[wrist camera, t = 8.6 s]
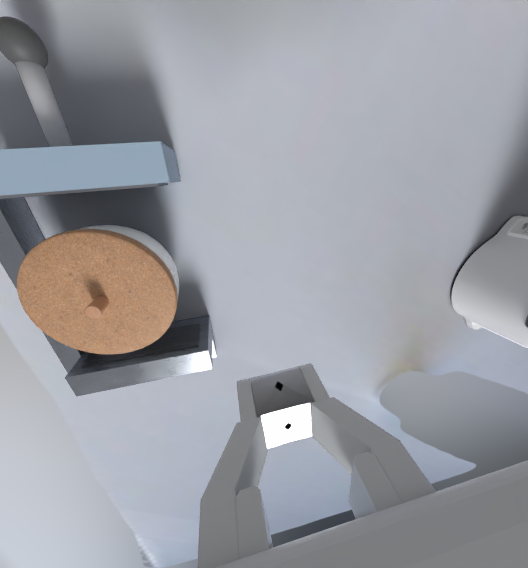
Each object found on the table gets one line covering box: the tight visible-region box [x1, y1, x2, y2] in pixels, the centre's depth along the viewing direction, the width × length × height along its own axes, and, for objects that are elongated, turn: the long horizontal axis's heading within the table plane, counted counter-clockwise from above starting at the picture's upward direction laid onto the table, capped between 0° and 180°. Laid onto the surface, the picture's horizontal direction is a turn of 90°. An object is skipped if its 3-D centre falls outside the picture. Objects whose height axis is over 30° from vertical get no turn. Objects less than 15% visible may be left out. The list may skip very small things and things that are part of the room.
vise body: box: [0, 197, 216, 396], centre depth 22 cm, size 16×24×6 cm, turn 4°
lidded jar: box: [17, 225, 179, 354], centre depth 20 cm, size 11×11×9 cm
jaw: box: [0, 17, 181, 199], centre depth 16 cm, size 13×10×6 cm
